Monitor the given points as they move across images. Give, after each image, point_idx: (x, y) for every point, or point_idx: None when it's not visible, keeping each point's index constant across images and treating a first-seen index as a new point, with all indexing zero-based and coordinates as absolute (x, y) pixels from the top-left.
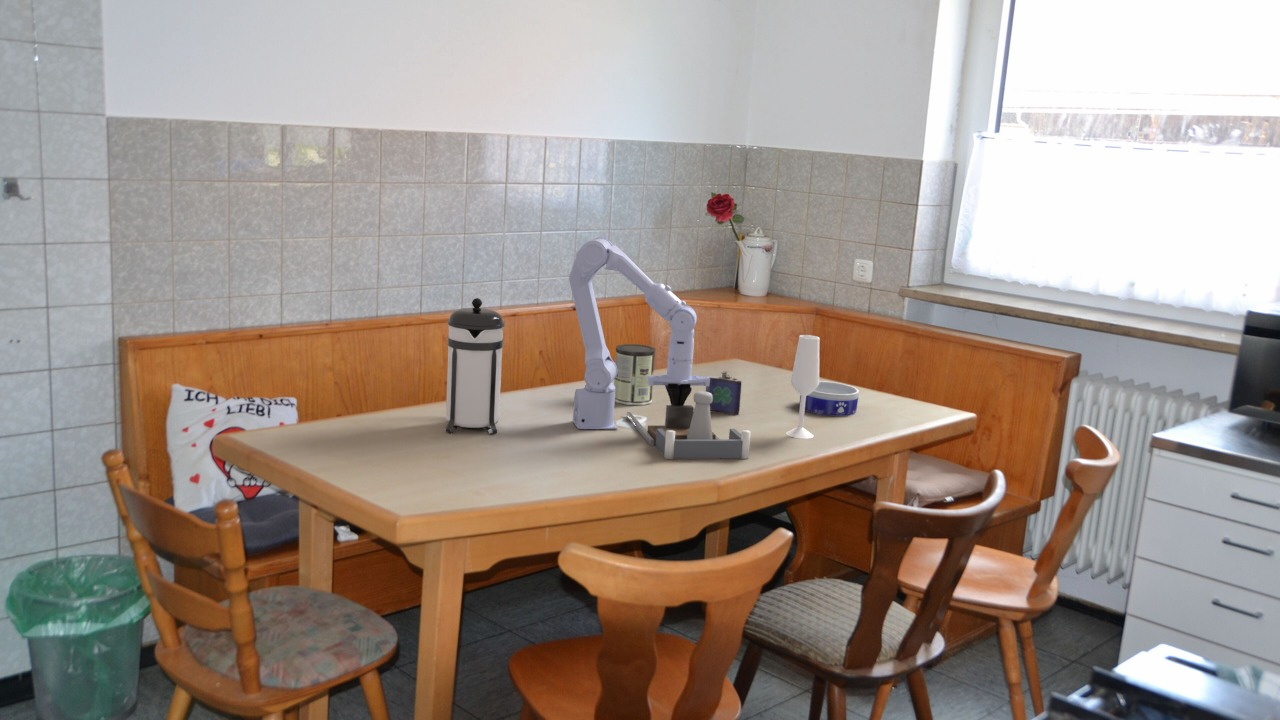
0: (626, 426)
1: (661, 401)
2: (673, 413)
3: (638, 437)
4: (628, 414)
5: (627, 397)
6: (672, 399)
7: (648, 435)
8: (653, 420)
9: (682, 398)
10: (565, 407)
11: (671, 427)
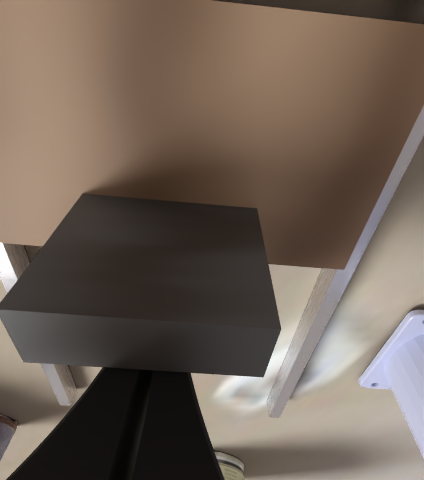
0: (339, 336)
1: None
2: (223, 277)
3: (397, 206)
4: (284, 404)
5: (224, 476)
6: (207, 436)
7: (404, 154)
8: (203, 374)
9: (96, 442)
10: (394, 450)
11: (229, 208)
